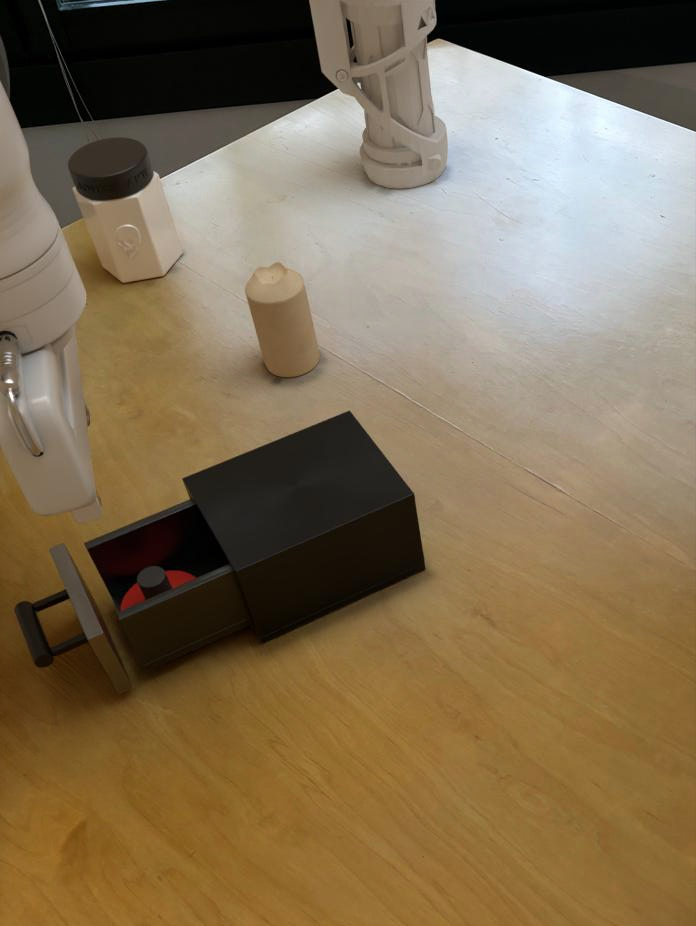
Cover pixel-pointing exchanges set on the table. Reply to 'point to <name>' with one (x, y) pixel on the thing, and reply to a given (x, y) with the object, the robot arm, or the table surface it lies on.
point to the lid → (153, 584)
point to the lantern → (386, 83)
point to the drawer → (156, 619)
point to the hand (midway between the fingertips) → (84, 466)
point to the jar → (124, 209)
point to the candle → (282, 320)
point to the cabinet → (310, 523)
